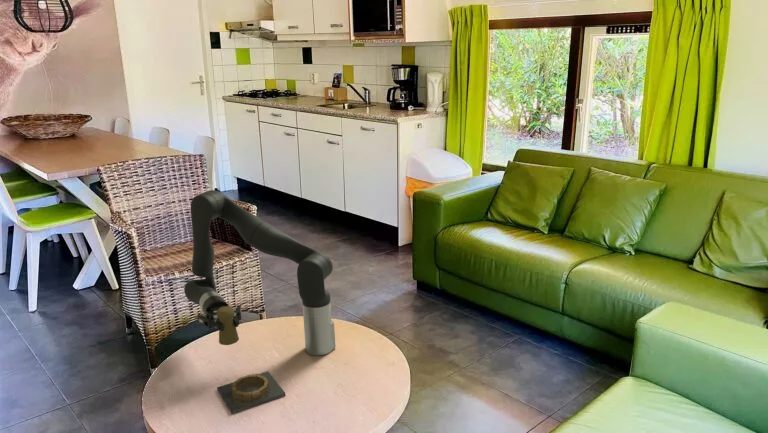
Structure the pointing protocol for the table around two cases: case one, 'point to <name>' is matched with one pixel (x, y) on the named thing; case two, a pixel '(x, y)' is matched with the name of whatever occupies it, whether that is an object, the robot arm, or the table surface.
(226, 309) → the cork
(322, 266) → the robot arm
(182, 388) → the table surface
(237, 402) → the collar plate
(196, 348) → the table surface
